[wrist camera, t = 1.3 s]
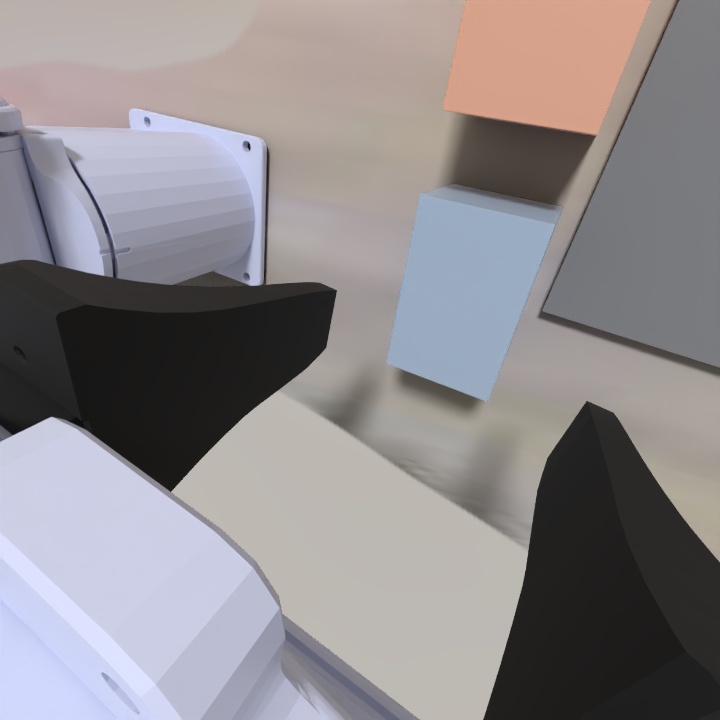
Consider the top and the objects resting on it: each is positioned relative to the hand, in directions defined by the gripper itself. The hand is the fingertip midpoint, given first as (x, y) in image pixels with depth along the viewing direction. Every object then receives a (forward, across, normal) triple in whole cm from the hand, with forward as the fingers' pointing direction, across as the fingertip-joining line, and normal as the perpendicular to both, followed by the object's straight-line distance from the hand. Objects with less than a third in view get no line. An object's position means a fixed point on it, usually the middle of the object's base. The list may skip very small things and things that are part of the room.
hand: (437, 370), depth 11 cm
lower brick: (+9, +1, 0) cm, 9 cm away
